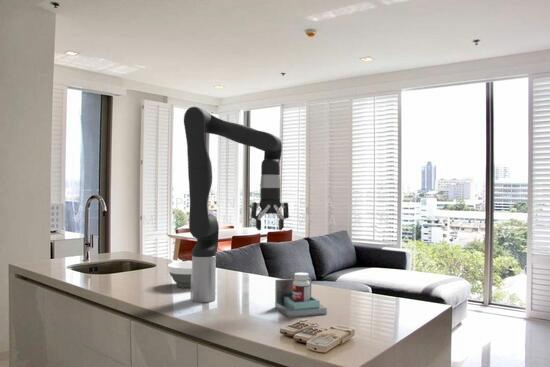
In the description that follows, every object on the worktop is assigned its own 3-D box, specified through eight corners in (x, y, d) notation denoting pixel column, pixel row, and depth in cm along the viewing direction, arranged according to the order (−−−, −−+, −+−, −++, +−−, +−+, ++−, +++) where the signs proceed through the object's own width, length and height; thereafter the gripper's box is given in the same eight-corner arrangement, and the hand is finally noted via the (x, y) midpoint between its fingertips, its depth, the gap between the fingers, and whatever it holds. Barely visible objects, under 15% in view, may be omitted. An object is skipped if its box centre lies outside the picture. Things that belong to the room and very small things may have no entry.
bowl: (158, 288, 192) (158, 266, 192) (183, 280, 210) (183, 260, 210) (196, 292, 185) (196, 269, 185) (219, 283, 203) (219, 262, 203)
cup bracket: (289, 317, 148) (289, 287, 148) (275, 307, 161) (275, 279, 162) (326, 313, 153) (326, 285, 153) (309, 304, 166) (310, 277, 166)
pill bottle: (289, 305, 156) (289, 273, 156) (299, 302, 161) (299, 271, 161) (302, 308, 152) (303, 275, 152) (313, 305, 157) (313, 273, 157)
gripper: (255, 186, 160) (254, 231, 159) (291, 187, 165) (291, 230, 164) (249, 186, 167) (248, 229, 167) (284, 187, 172) (283, 228, 171)
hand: (269, 229), depth 165 cm, fingers open, 8 cm apart
